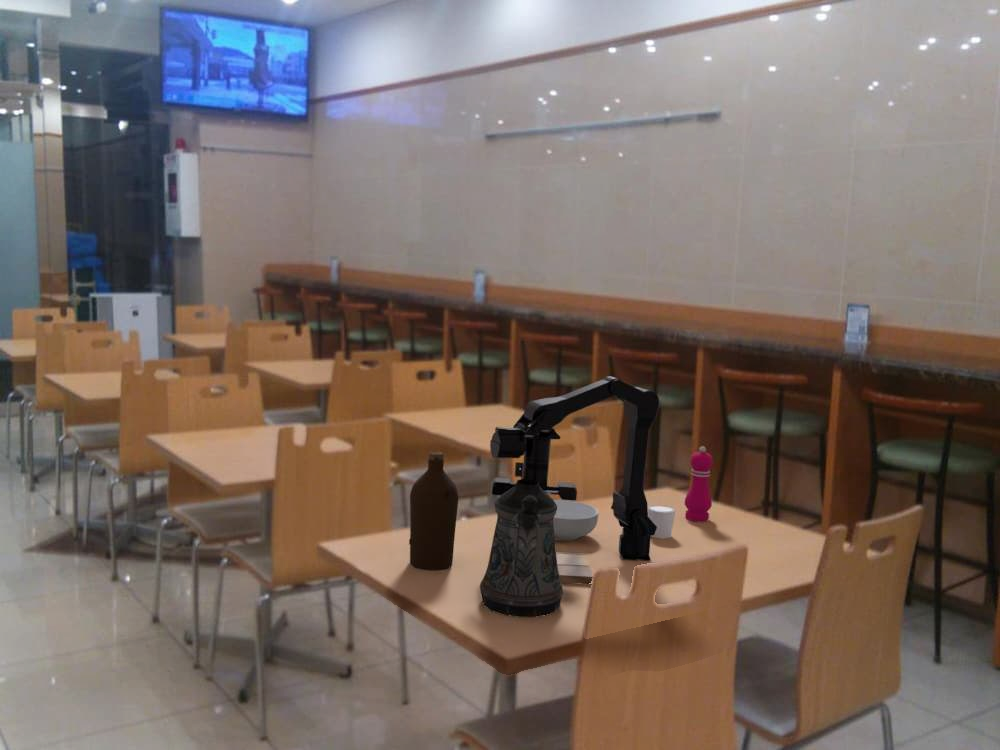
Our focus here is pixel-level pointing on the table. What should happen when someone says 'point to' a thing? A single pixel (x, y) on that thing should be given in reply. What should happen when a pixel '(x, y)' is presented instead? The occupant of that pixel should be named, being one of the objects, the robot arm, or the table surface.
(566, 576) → the laid board
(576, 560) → the plank
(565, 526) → the cereal bowl
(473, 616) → the table surface
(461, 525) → the table surface
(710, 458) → the pepper mill
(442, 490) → the olive oil
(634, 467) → the robot arm
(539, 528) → the ornate coffee pot
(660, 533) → the shot glass
